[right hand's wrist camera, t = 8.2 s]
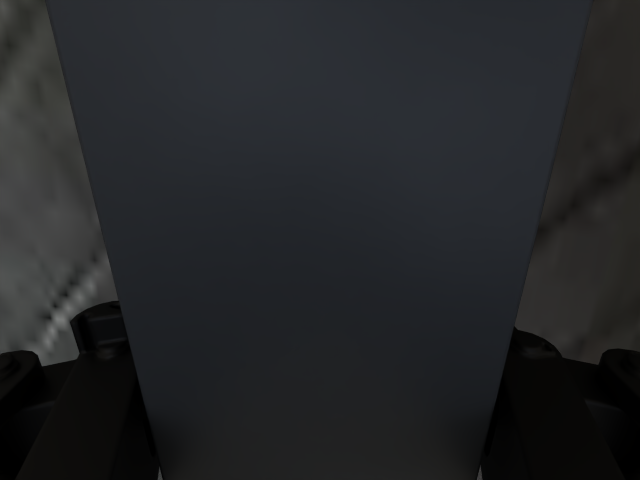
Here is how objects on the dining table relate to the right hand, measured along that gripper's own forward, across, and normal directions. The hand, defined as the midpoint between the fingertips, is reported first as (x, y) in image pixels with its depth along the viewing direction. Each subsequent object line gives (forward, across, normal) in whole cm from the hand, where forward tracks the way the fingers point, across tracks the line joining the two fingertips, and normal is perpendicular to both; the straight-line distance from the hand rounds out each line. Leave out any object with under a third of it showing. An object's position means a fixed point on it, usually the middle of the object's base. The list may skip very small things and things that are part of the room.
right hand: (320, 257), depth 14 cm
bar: (0, 0, -10) cm, 10 cm away
